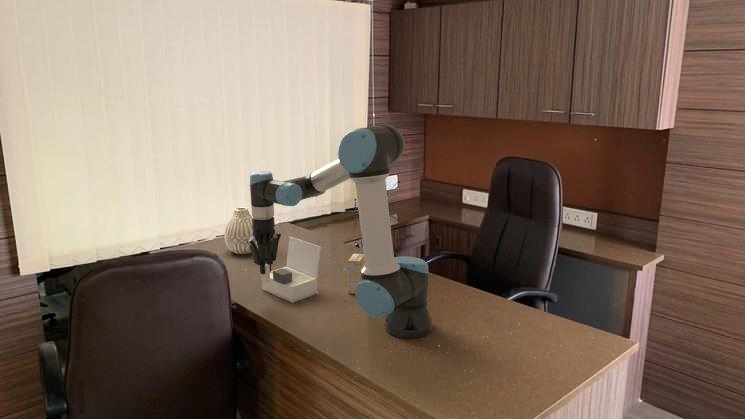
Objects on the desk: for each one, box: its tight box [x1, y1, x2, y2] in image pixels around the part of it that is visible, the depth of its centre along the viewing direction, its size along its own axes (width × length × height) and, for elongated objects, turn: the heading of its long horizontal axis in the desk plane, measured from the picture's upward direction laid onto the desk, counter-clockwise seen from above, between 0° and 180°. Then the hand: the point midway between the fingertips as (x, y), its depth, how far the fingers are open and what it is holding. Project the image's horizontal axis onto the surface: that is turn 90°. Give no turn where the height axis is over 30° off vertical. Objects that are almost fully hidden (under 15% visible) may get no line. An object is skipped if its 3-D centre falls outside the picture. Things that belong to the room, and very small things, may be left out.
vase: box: [223, 206, 258, 255], centre depth 250 cm, size 16×16×20 cm
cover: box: [285, 236, 322, 279], centre depth 210 cm, size 18×12×1 cm
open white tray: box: [261, 266, 319, 304], centre depth 207 cm, size 18×12×6 cm, turn 46°
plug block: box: [272, 267, 292, 285], centre depth 201 cm, size 6×4×4 cm, turn 46°
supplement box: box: [347, 253, 365, 295], centre depth 207 cm, size 8×5×13 cm, turn 168°
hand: (266, 281), depth 197 cm, fingers closed
